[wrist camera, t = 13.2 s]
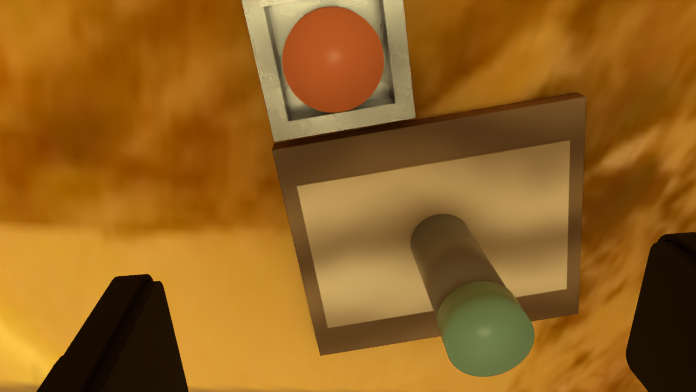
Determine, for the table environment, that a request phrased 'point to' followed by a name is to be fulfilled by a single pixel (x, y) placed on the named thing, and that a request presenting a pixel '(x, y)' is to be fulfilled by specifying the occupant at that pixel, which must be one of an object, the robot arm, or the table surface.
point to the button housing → (291, 113)
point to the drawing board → (435, 213)
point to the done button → (332, 59)
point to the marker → (469, 299)
